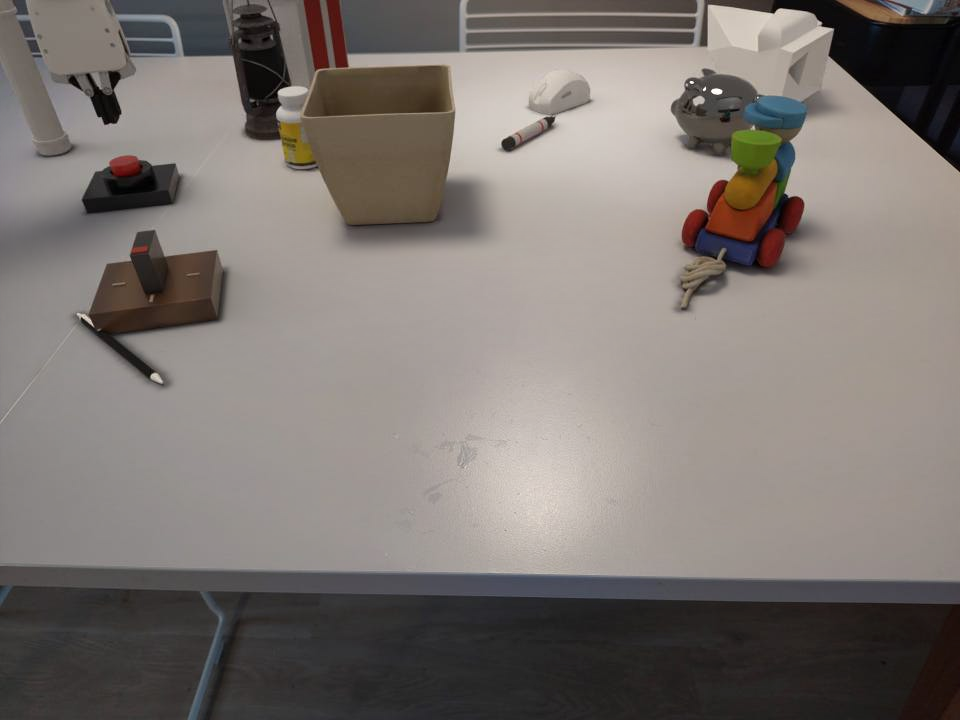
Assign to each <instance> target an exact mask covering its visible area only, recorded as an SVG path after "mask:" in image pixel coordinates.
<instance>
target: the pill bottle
mask: <svg viewBox="0 0 960 720" xmlns="http://www.w3.org/2000/svg"><path fill="white" fill-rule="evenodd" d="M308 93H309V92H308V89H307V88H305V87H301V86H292V87H286V88H283V89H280V90H279V91H278V98H279V102H280V103H281V104H282V106H280V107H279V109H278V110H277V112H276V118H277V123H278V127H279V132H280V137H281V138H280V142H281V146H282V151H283V157H284V161H285V163H286V165H287V166H288V167H290V168H292V169H295V170H309V169H314V168H316V167H318V166H317V164H316V161H315V159H314V156H313V153H312V151H311V148H310V145H309V143H308V140H307V137H306V134H305V131H304V128H303V125H302V122H301V118H300V114H301V111H302V108H303V106H304V103H305V101H306V98H307V96H308Z"/></svg>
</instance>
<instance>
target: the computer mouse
mask: <svg viewBox="0 0 960 720" xmlns="http://www.w3.org/2000/svg"><path fill="white" fill-rule="evenodd" d="M590 99H591V87H590V84H589V82H588V81H587V79H586V78H585V77H584V76H583V75H582V74H579V73H578V72H576V71H573V70H571V69H566V68H561V69H554V70H552V71H550V72H549V73H547V74H546V75H545V76H543V77H542V78H541V79H539V81H537V82H536V84H535V85H534V86H533V87H532V88H531V89H530V92H529V94H528V106H529V107H528V108H529V109H531V110H532V111H534V112H537V113H539V114H542V115H549V116H551V115H555V114H559V113H561V112H564V111H567V110H570V109H572V108H575V107H578V106H581V105H584V104H586V103H588V102H589V101H590Z"/></svg>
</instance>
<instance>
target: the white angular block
mask: <svg viewBox="0 0 960 720" xmlns="http://www.w3.org/2000/svg"><path fill="white" fill-rule="evenodd" d="M822 25H823V22H822V21H820V20H818V18H817V16H816V15H815V14H814V13H813V12H809V11H803V10H797V9H788V8H778V9H776V11H775V12H774V13H771V12H764V11H758V10H751V9H745V8H738V7H733V6H724V5H716V4H707V53H708V55H709V58H710V59H711V62H712V64H713V66H714V68H715V72H716V73H717V74H730V75H735V76H738V77H741V78H743V79H745V80H747V81H749V82H750V83H751V84H752V85H753V86H754V87H755V88H756V90H757V92H758V94H761V95H765V96H769V95H772V96H782V97H787V98H791V99H794V100H797V101H799V102H801V103H803V101H805V100H806V99H807V98H809V97H810V96H812V95H813V94H814V93H816V92H818V91H819V90H820V89H822V86H823V80H824V78H825V77H824V76H825V71H826V67H827V63H828V59H829V54H830V50H831V45H832V41H833V37H834V31H835V28H832V27H825V26H822Z"/></svg>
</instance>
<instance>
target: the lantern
mask: <svg viewBox="0 0 960 720" xmlns="http://www.w3.org/2000/svg"><path fill="white" fill-rule="evenodd" d="M267 1H268V3H269V6H270V8H271V11H272V13H273V16H274V18H275V21H273V19H272V18H270V17H267V16H263V15H261V12H264V11H266V10H267V8H266V7H265V6H262V5H257V4H249V0H247V5H242V6H239V7H236V8H235V9H233V0H231V27H232V34H231V36H230V35H229V37H226V42H227V45H228V49H229V50H231V54H232V58H233V63H234V69H235V73H236V79H237V85H238V90H239V95H240V101H241V105H242V108H243V111H244V112H245V114H246V115H245V119H246V121H245V123H244V133H245V135H246V136H247V137H249V138H251V139H254V140H255V139H256V140H279V139H280V140H281V137H280V132H279V127H278V123H277V118H276V112H277V110H278V109H279V107H280V106H282V104H281V103H280V102H279V98H278V91H279V90H280V89H283V88H286V87H292V86H291V80H290V76H289V72H288V68H287V63H286V59H285V55H284V50H283V46H282V42H281V38H280V33H279V31H281V29H280V25H279V23H278V22H277V19H276V17H275V14H274V12H273V9H272V7H271V4H270V2H269V0H267ZM233 13H234V14H240V18H238V19H236V20H234V21H233ZM233 26H234V27H238V30H236V31H235V32H233ZM268 26H270V27H268ZM270 35H272V36H273V40H272V39H271V36H270ZM239 38H240V39H241V42H240V43H239V42H238V40H239ZM250 99H252V100H255V101H253V102H250Z"/></svg>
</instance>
